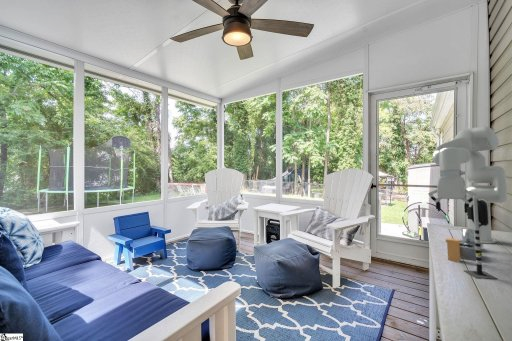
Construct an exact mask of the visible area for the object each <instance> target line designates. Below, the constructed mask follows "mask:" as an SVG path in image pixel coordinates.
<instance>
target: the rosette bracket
mask: <svg viewBox="0 0 512 341" xmlns="http://www.w3.org/2000/svg"><path fill="white" fill-rule="evenodd" d="M461 238H462V239H459V240H460V241H461V242H460V244H459V245H460V259H463V260H464V259H465V260H471V261H476V249H475V236H474V229H469V227H468V228H465V227H463V228H461ZM482 248H484V243H481V249H482Z"/></svg>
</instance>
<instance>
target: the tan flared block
mask: <svg viewBox="0 0 512 341" xmlns="http://www.w3.org/2000/svg"><path fill="white" fill-rule="evenodd" d="M460 240H461V239H460V238H459V239H457V238H449V237H446V238H445V243H446V245H447V246H446V247H447V248H446V249H447V260H448V261H451V262H452V261H453V262H457V263H459V262H461V258H460V245H459V244H460V242H461V241H460Z"/></svg>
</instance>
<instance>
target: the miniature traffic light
mask: <svg viewBox="0 0 512 341" xmlns="http://www.w3.org/2000/svg"><path fill="white" fill-rule="evenodd" d="M489 210H490V205H489V203H488V202H487V201H486V200H484V199H480V200H478V199H477V197H473V205H472V206H471V207H467V213H466V216H467V220H468V219H471V220H472V221H473V222H474V226H475V249H476V260H475V261H476V262H475V263H476V270H463V272H465V273H466V274H468V275H470V276H471V277H472V278H474V277H475V279H481V278H488V279H487V280H498V278H497V277H496V276H494V275H492V274H491V273H488V272H486V271H484V270H483V260H482V256H483V254H482V248H481V243H480V235H479V228H480V226H482V225H483V226H488V225H489V224H490V221H489V219H490V218H491V217H490V218H489ZM479 223H480V224H479Z"/></svg>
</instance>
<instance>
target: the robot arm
mask: <svg viewBox="0 0 512 341" xmlns="http://www.w3.org/2000/svg"><path fill="white" fill-rule="evenodd" d="M499 143H500V142H499V138H498V136H497V134H496V132H495V131H494V130H493V129H492V128H491V127H489V126H487V125H486V126H477V127H476V126H475V127H469V128H464V129H461V130H460V131H458V132H457V134H456V135H455V137H454V138H453V139H451V140H448V141H447V142H444V143H441V144H440V145H438V146H436V148H435V149H434V151H433V153H432V161H433V163H434V164H435V165H439V177H438V179H437V188H436V189H435V190H432V191H431V192H428V193H427V194H428V196H429V197H430V199H431V201H433V202H435V209H436V210H437V212H440V211H442V209H441V208H442V207H441V206H442V205H441V200H462V201H463V202H464V204H463V205H464V213H465V214H467V207H471V206H472V205H473V197H477V199H478V200H480V199H484V200H486V201H487V202H488V204H489V203H491V204H492V203H493V204H502V203H505V202H507V200H508V189H507V186H508V185H507V177H506V176H507V175H506V171H505V169H504V168H503V166H500V165H487V162H486V157H485V155H484V154H482V152H483V151H493V150H495V149H497V148H498V147H499ZM461 164H465V171H463V170H461V169H462V168H461ZM462 175H466V179H467V181H468V183H471V184H479V185H469V186H466V182H465V178H464V177H463V176H462ZM481 184H493V185H481ZM435 194H436V195H437V196H436V197H437V198H436V197H435V196H434V195H435ZM489 218H490V219H489V221H490V224H489V225H488V226H483V225H482V226H480V228H479V235H480V243H482V244H496V243H497V240H496V239H494V238H493V236H492V222H491V211H490V209H489ZM467 220H468V221H467V222H468V229H474V236H475V226H474V222H473V221H472V220H471V219H468V218H467ZM479 224H480V223H479Z"/></svg>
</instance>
